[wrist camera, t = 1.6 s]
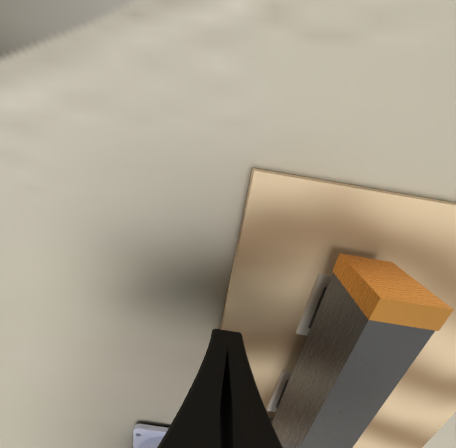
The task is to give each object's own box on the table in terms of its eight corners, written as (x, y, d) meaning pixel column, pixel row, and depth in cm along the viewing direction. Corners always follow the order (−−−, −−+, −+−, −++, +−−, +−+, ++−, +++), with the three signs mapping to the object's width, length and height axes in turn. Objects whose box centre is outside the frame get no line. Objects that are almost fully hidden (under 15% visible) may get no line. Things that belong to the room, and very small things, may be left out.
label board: (397, 445, 19) (412, 474, 18) (202, 416, 19) (199, 443, 17) (583, 224, 11) (644, 239, 10) (252, 167, 11) (255, 172, 9)
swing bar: (292, 460, 17) (304, 525, 14) (253, 454, 17) (256, 518, 14) (398, 262, 10) (462, 311, 7) (333, 252, 10) (371, 296, 7)
